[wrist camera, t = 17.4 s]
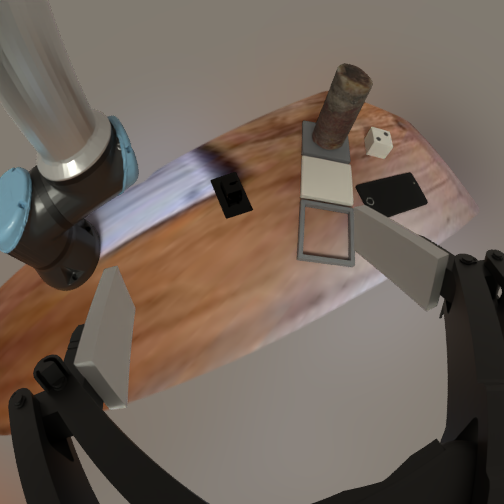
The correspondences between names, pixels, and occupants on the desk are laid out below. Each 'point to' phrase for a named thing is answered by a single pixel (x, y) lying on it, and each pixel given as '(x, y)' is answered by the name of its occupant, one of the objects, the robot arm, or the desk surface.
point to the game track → (325, 189)
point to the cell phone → (392, 194)
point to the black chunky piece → (231, 195)
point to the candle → (341, 106)
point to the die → (378, 142)
